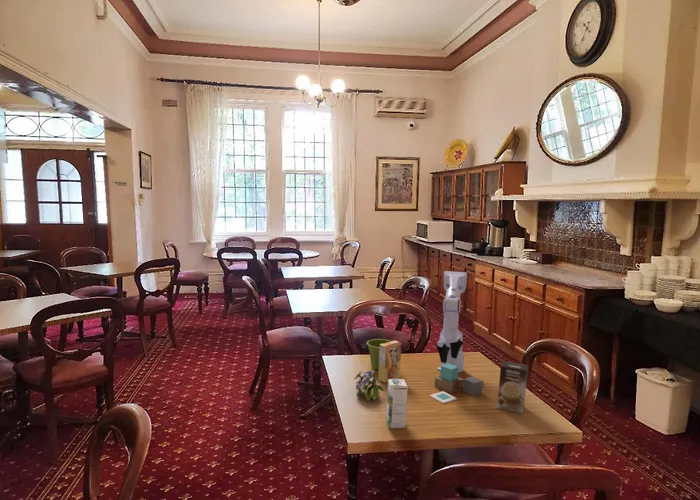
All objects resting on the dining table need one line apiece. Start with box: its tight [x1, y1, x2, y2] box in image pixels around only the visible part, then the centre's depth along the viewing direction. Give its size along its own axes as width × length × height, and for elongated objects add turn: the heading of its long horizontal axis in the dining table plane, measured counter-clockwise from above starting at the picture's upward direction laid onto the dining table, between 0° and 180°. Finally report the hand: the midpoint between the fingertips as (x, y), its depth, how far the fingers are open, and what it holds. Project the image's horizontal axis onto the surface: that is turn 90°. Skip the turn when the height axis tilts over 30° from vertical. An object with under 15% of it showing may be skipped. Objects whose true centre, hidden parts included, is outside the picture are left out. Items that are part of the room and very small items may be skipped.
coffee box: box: [496, 359, 529, 414], centre depth 158 cm, size 9×6×16 cm
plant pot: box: [366, 338, 392, 371], centre depth 192 cm, size 12×12×11 cm
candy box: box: [377, 340, 402, 383], centre depth 180 cm, size 9×4×15 cm, turn 129°
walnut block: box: [434, 375, 465, 394], centre depth 174 cm, size 8×8×4 cm
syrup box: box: [385, 378, 409, 429], centre depth 144 cm, size 6×6×14 cm
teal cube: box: [439, 363, 459, 382], centre depth 174 cm, size 5×5×5 cm
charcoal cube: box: [462, 376, 484, 397], centre depth 171 cm, size 5×5×5 cm
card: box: [429, 390, 458, 405], centre depth 165 cm, size 7×7×1 cm
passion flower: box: [354, 369, 386, 403], centre depth 165 cm, size 11×11×12 cm
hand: (448, 360), depth 176 cm, fingers open, 7 cm apart
